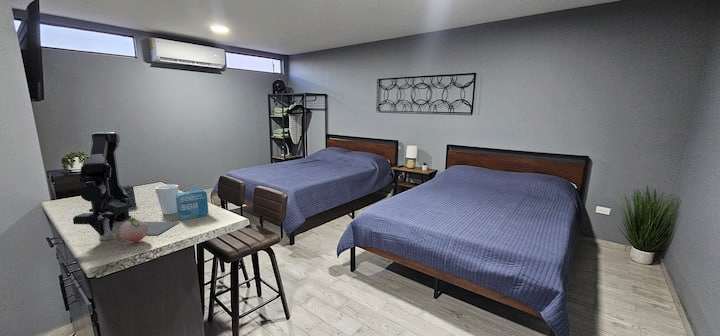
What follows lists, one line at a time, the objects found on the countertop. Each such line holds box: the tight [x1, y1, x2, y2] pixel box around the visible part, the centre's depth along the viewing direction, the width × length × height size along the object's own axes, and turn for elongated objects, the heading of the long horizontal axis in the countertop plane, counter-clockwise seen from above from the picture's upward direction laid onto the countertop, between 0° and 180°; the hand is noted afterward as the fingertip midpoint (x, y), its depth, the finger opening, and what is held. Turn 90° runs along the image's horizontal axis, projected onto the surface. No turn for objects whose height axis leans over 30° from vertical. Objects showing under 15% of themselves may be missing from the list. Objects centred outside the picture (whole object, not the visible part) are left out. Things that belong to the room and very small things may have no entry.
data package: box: [176, 189, 209, 221], centre depth 140 cm, size 12×4×12 cm, turn 134°
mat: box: [117, 221, 180, 236], centre depth 126 cm, size 16×14×1 cm
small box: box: [121, 185, 137, 208], centre depth 154 cm, size 11×6×10 cm, turn 144°
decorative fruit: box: [118, 216, 148, 243], centre depth 112 cm, size 9×8×10 cm
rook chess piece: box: [98, 217, 115, 241], centre depth 116 cm, size 4×4×8 cm
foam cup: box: [155, 183, 180, 216], centre depth 146 cm, size 10×9×13 cm
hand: (106, 233), depth 116 cm, fingers closed on rook chess piece, 3 cm apart
